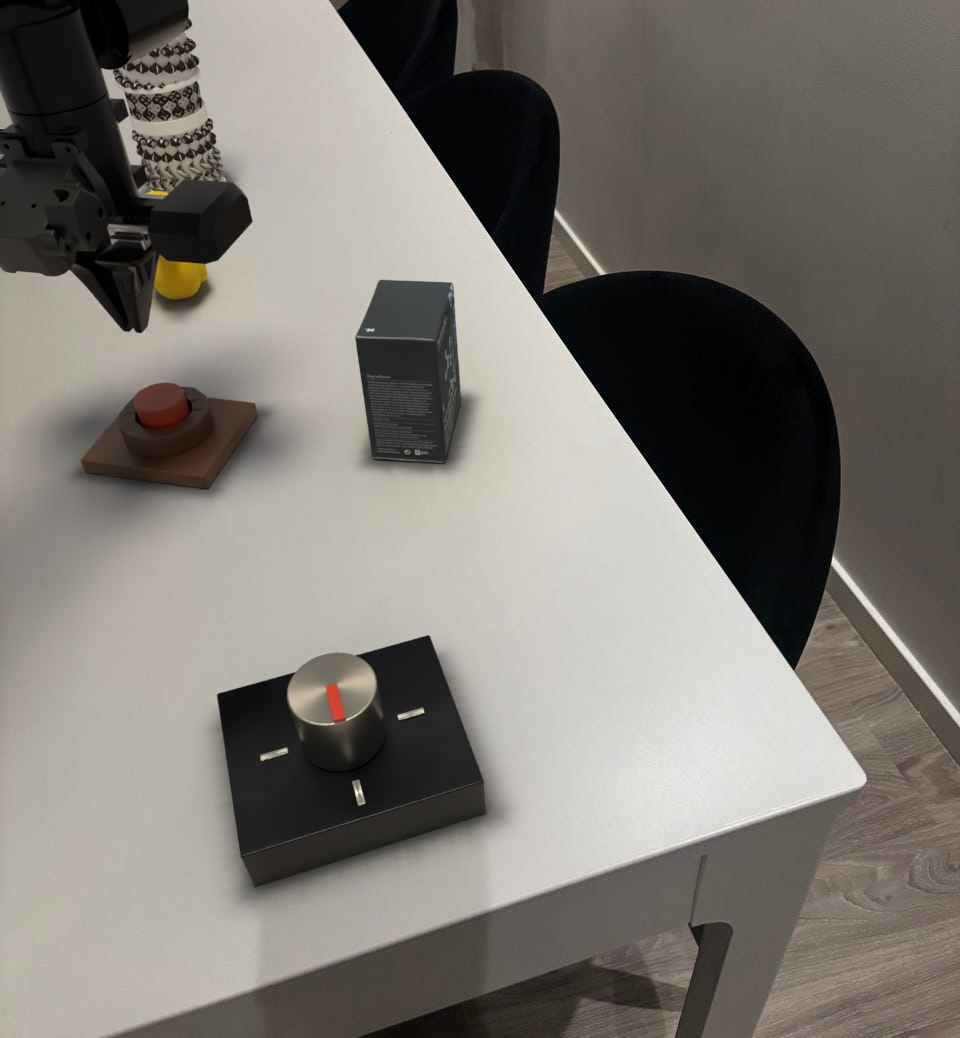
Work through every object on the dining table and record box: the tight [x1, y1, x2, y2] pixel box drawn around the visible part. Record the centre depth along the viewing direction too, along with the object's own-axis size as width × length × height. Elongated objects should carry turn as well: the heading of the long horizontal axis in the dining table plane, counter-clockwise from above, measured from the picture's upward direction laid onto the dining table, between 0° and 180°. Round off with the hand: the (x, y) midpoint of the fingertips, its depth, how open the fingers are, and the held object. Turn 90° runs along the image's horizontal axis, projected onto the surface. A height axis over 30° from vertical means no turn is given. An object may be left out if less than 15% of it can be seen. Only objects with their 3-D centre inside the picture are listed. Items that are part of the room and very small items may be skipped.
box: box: [354, 279, 462, 464], centre depth 70 cm, size 8×6×11 cm
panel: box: [216, 634, 487, 887], centre depth 51 cm, size 12×10×3 cm
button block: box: [80, 385, 259, 490], centre depth 72 cm, size 10×9×3 cm
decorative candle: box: [112, 17, 227, 193], centre depth 99 cm, size 9×9×25 cm
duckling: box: [144, 191, 208, 300], centre depth 87 cm, size 11×5×10 cm, turn 14°
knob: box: [287, 652, 386, 771], centre depth 48 cm, size 4×4×4 cm
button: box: [133, 382, 189, 429], centre depth 71 cm, size 4×4×2 cm
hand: (136, 329), depth 67 cm, fingers closed
